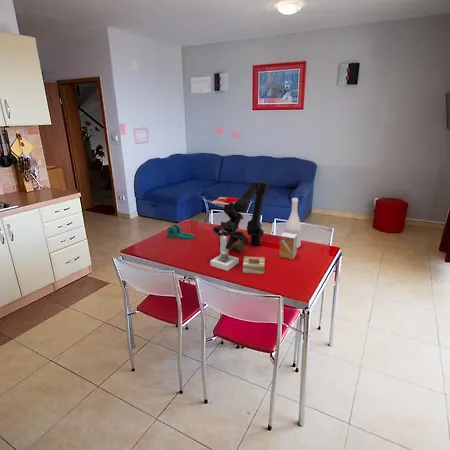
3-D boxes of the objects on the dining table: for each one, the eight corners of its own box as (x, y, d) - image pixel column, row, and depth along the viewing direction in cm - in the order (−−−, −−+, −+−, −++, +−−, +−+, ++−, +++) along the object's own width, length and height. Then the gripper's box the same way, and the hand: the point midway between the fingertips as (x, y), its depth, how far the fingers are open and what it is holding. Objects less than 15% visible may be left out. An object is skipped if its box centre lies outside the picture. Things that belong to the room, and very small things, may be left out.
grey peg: (221, 256, 173) (220, 234, 169) (229, 256, 173) (228, 234, 168) (219, 259, 169) (219, 237, 165) (227, 260, 168) (227, 237, 164)
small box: (279, 256, 179) (279, 235, 175) (282, 252, 185) (283, 232, 180) (292, 259, 176) (294, 238, 171) (296, 255, 181) (297, 234, 176)
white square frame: (222, 258, 179) (222, 253, 178) (238, 262, 173) (238, 258, 172) (210, 265, 171) (210, 260, 170) (227, 270, 165) (227, 265, 164)
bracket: (167, 237, 212) (166, 226, 210) (172, 234, 218) (171, 223, 215) (191, 240, 206) (190, 229, 203) (195, 237, 212) (195, 226, 209)
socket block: (244, 263, 173) (244, 256, 171) (264, 264, 171) (264, 257, 170) (242, 272, 162) (242, 265, 161) (264, 273, 161) (264, 266, 160)
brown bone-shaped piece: (252, 244, 198) (236, 255, 182) (238, 242, 203) (222, 253, 187) (252, 235, 197) (236, 246, 180) (238, 233, 201) (222, 243, 185)
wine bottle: (296, 250, 187) (299, 201, 177) (282, 246, 193) (284, 199, 183) (303, 245, 195) (306, 197, 185) (289, 241, 200) (291, 195, 190)
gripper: (213, 212, 171) (201, 237, 166) (242, 218, 161) (231, 245, 156) (222, 222, 180) (211, 246, 175) (250, 228, 170) (239, 254, 165)
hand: (222, 247), depth 168 cm, fingers closed on grey peg, 4 cm apart
